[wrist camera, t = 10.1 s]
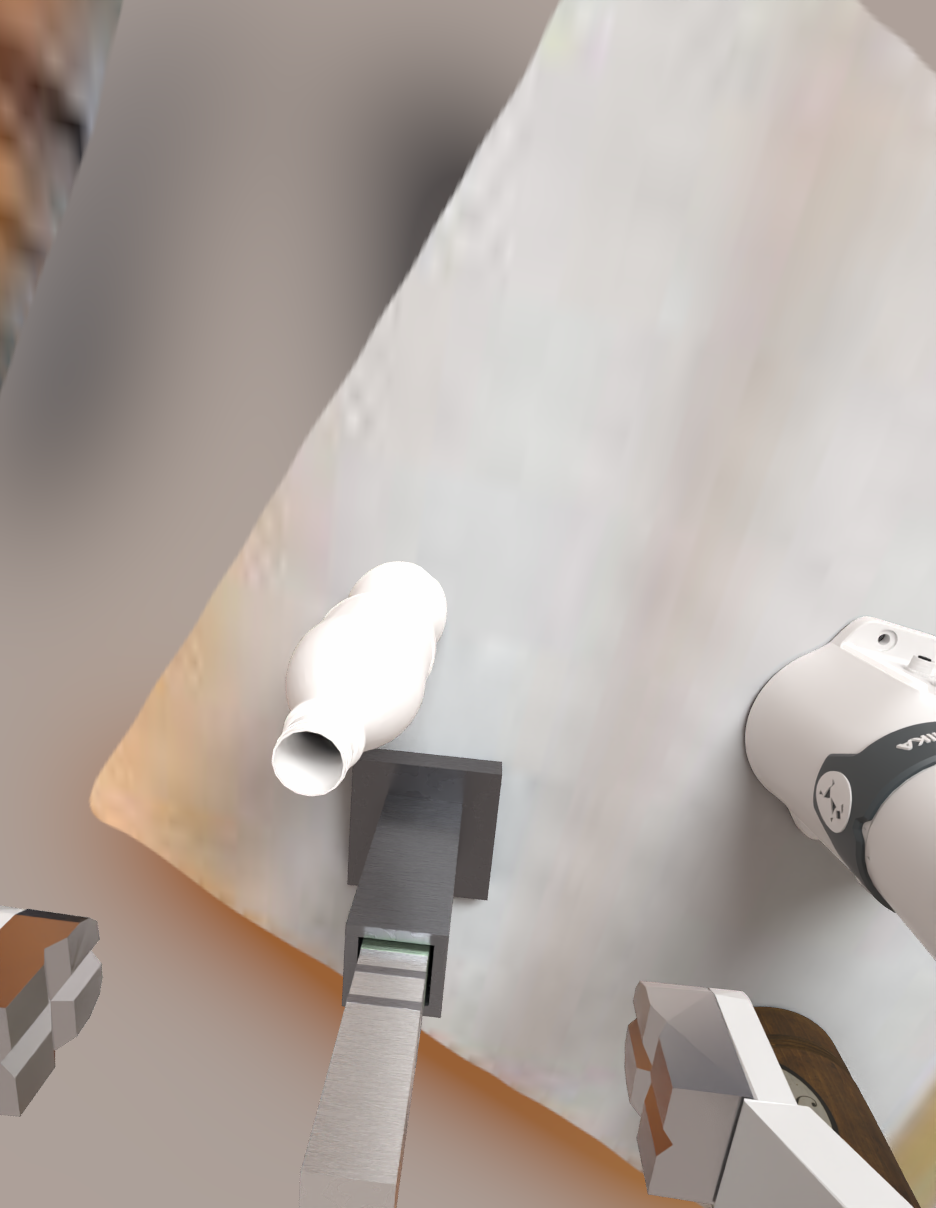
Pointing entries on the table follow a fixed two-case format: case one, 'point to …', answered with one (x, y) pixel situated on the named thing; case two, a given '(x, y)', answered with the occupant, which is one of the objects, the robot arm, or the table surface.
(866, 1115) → the wooden container
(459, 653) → the table surface
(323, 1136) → the column
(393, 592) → the water bottle
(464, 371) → the table surface
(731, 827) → the table surface
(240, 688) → the table surface
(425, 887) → the stand
